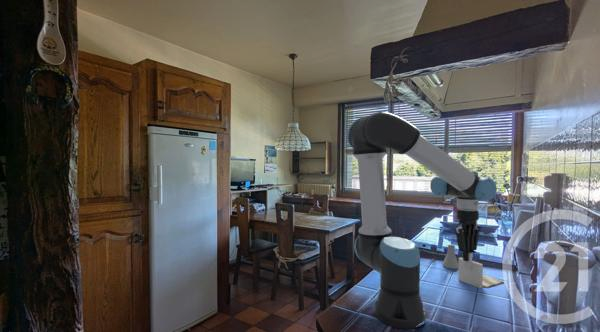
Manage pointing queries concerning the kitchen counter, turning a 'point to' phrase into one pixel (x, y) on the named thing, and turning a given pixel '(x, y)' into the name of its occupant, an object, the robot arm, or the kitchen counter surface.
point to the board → (490, 281)
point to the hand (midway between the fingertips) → (467, 268)
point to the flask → (451, 259)
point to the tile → (471, 274)
